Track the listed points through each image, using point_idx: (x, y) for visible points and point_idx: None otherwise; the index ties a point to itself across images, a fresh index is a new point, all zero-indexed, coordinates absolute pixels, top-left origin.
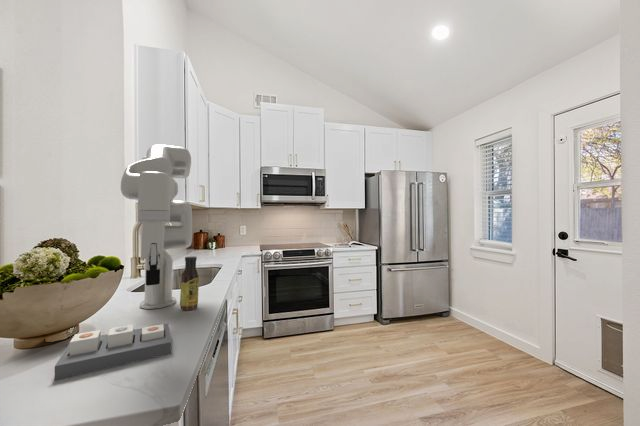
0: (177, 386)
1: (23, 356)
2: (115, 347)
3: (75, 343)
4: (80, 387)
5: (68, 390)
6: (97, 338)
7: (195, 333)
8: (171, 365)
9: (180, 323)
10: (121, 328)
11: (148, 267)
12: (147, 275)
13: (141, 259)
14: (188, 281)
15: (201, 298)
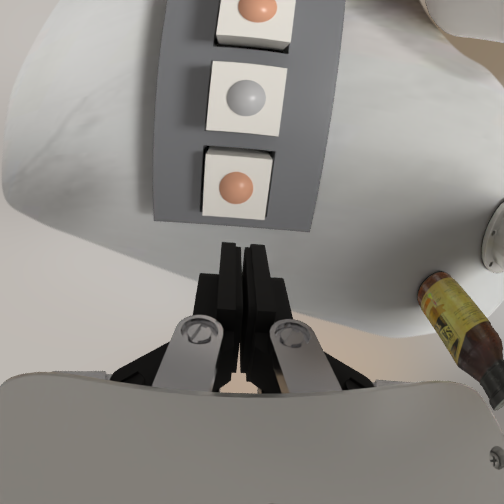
0: (33, 207)
1: None
2: (202, 84)
3: None
4: (109, 40)
5: (111, 23)
6: (216, 35)
7: None
8: (103, 203)
9: (353, 256)
10: (255, 98)
11: (171, 347)
12: (219, 289)
13: (27, 374)
14: (462, 341)
15: None
